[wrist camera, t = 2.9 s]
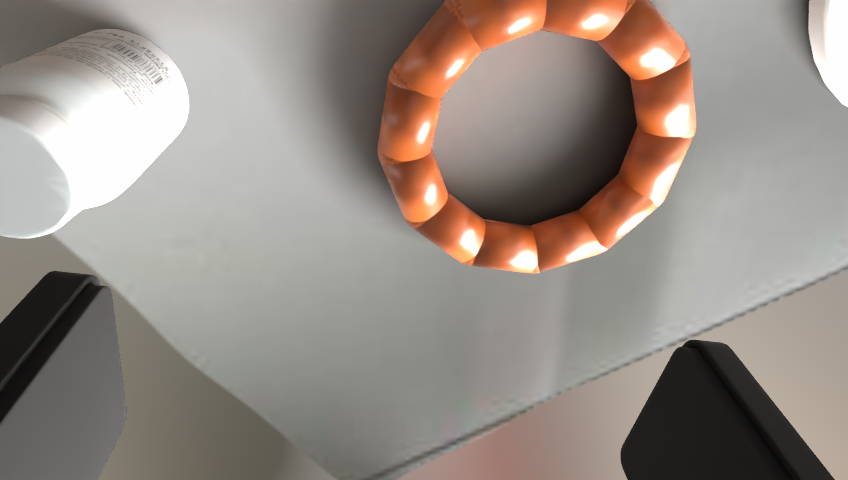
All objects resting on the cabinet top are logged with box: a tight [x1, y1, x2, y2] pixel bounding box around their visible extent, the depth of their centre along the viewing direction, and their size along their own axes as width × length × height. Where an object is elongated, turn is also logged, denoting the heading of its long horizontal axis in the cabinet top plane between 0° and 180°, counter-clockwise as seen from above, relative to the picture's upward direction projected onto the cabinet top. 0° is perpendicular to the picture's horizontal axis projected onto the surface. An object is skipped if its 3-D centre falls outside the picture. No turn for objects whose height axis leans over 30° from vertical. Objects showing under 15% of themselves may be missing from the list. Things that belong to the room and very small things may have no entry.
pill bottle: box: [0, 29, 189, 238], centre depth 17 cm, size 4×4×8 cm
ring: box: [378, 0, 696, 273], centre depth 21 cm, size 12×12×2 cm
